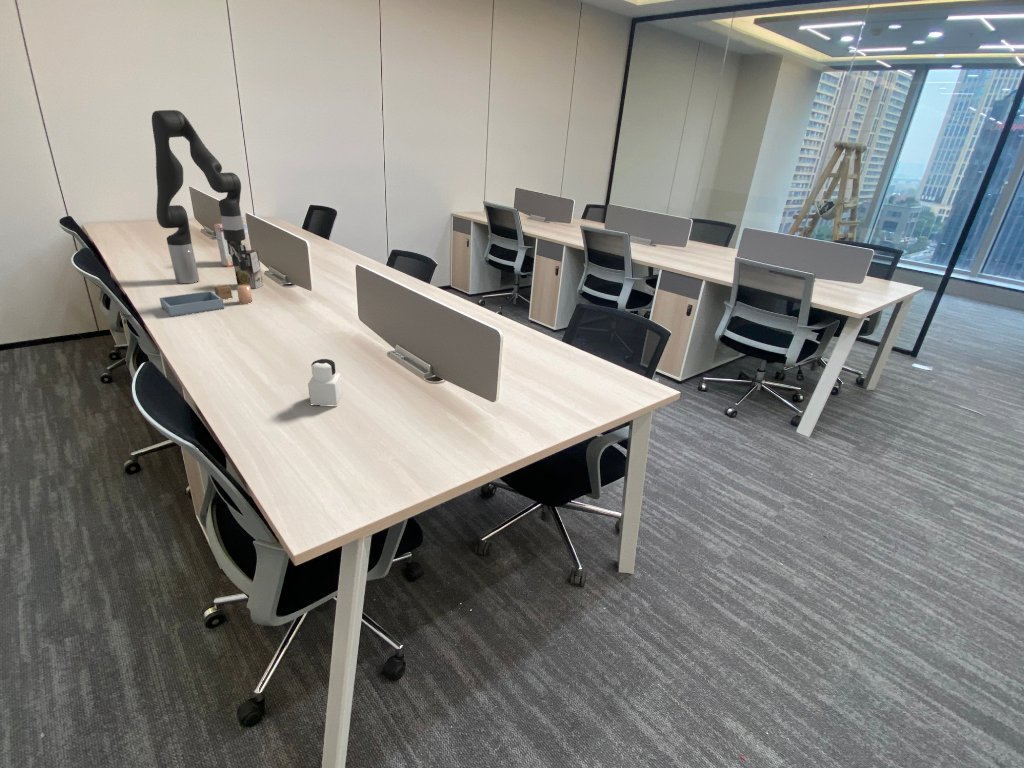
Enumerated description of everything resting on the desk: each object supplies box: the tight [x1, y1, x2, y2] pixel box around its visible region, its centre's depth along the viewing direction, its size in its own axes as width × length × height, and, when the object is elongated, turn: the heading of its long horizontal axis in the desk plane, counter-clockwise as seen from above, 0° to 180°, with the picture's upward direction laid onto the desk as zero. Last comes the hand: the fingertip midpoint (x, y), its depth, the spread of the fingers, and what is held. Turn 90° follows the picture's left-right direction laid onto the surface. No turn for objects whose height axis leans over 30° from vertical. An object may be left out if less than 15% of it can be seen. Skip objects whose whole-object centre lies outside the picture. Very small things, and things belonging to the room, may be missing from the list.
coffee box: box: [233, 249, 264, 289], centre depth 231 cm, size 9×6×16 cm
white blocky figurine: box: [307, 358, 343, 406], centre depth 141 cm, size 7×7×12 cm
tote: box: [159, 290, 225, 318], centre depth 202 cm, size 14×19×4 cm
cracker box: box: [213, 221, 252, 268], centre depth 263 cm, size 14×6×21 cm, turn 144°
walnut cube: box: [213, 283, 233, 300], centre depth 216 cm, size 5×5×5 cm
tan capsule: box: [236, 285, 253, 305], centre depth 212 cm, size 5×5×7 cm
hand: (240, 268), depth 207 cm, fingers open, 8 cm apart
